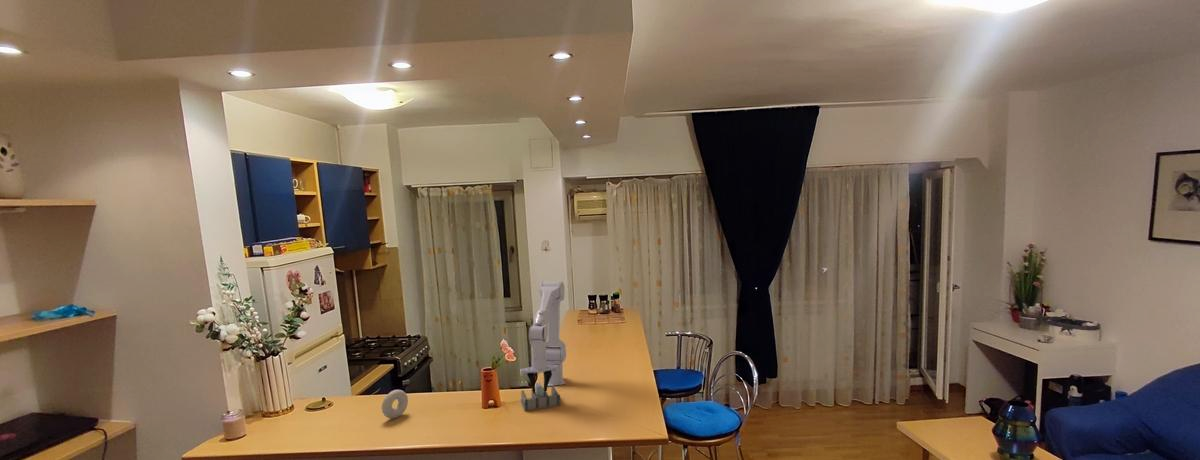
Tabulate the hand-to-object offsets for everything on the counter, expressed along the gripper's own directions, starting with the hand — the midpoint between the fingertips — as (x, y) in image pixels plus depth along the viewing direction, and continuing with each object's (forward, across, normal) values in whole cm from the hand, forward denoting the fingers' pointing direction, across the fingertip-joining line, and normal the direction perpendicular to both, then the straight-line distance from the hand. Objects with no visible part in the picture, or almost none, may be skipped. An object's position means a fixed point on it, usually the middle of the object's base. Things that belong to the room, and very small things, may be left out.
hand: (539, 391), depth 180 cm
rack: (+5, 0, 0) cm, 5 cm away
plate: (+4, 0, 0) cm, 4 cm away
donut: (+5, -52, +6) cm, 53 cm away
